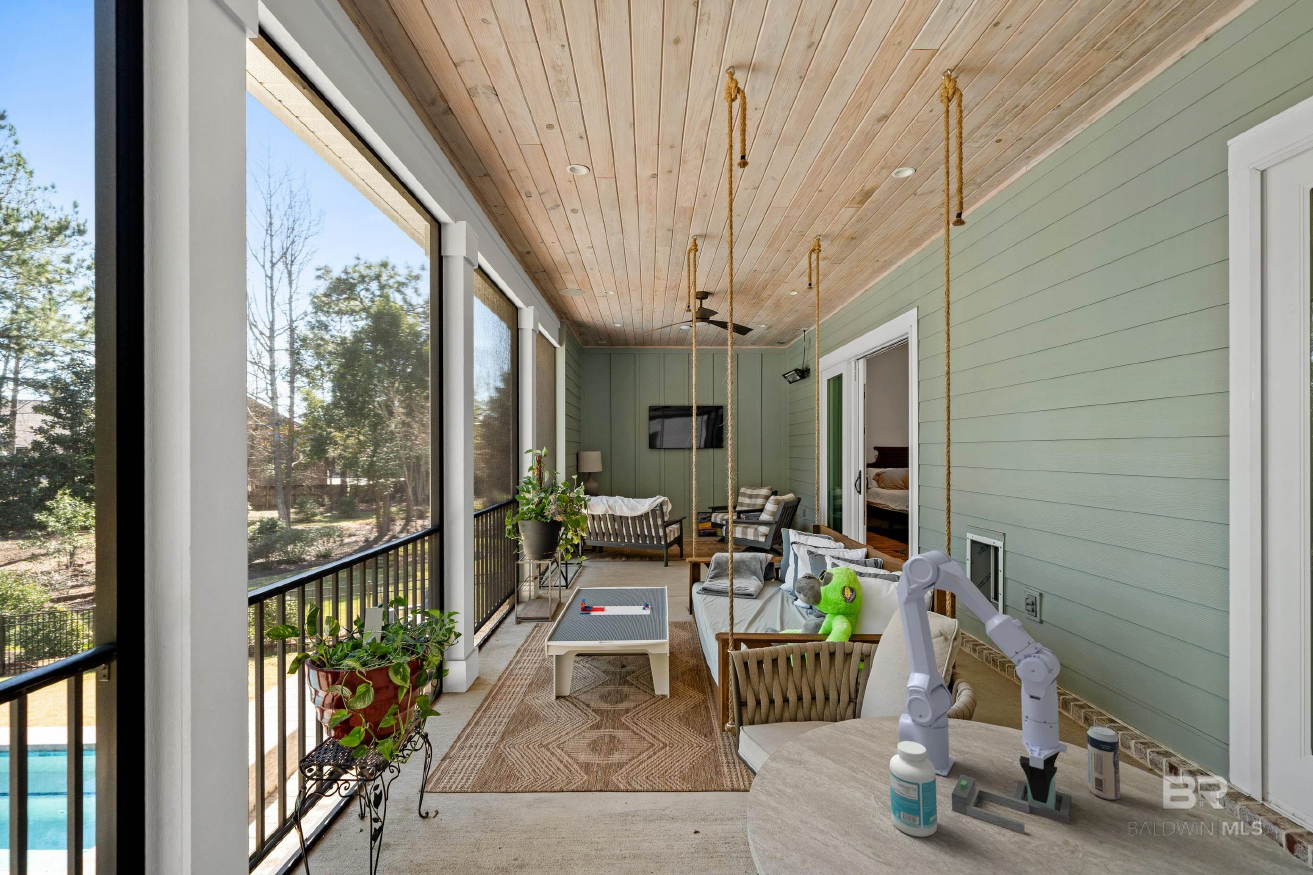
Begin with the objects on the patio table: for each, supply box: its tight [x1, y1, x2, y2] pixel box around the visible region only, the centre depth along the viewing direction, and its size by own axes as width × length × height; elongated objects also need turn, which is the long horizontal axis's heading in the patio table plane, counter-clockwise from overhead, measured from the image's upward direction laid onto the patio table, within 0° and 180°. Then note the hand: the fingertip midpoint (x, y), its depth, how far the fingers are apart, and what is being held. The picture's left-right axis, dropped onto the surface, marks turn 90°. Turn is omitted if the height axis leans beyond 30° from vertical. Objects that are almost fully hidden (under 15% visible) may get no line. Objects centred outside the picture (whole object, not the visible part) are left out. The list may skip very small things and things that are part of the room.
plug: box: [1026, 774, 1057, 810], centre depth 109 cm, size 4×4×7 cm
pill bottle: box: [889, 741, 938, 838], centre depth 103 cm, size 8×7×14 cm
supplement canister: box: [1086, 725, 1121, 801], centre depth 113 cm, size 5×5×12 cm
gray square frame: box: [1012, 779, 1072, 825], centre depth 109 cm, size 8×8×1 cm
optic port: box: [951, 773, 1031, 835], centre depth 107 cm, size 11×8×4 cm
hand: (1042, 791), depth 109 cm, fingers open, 7 cm apart
